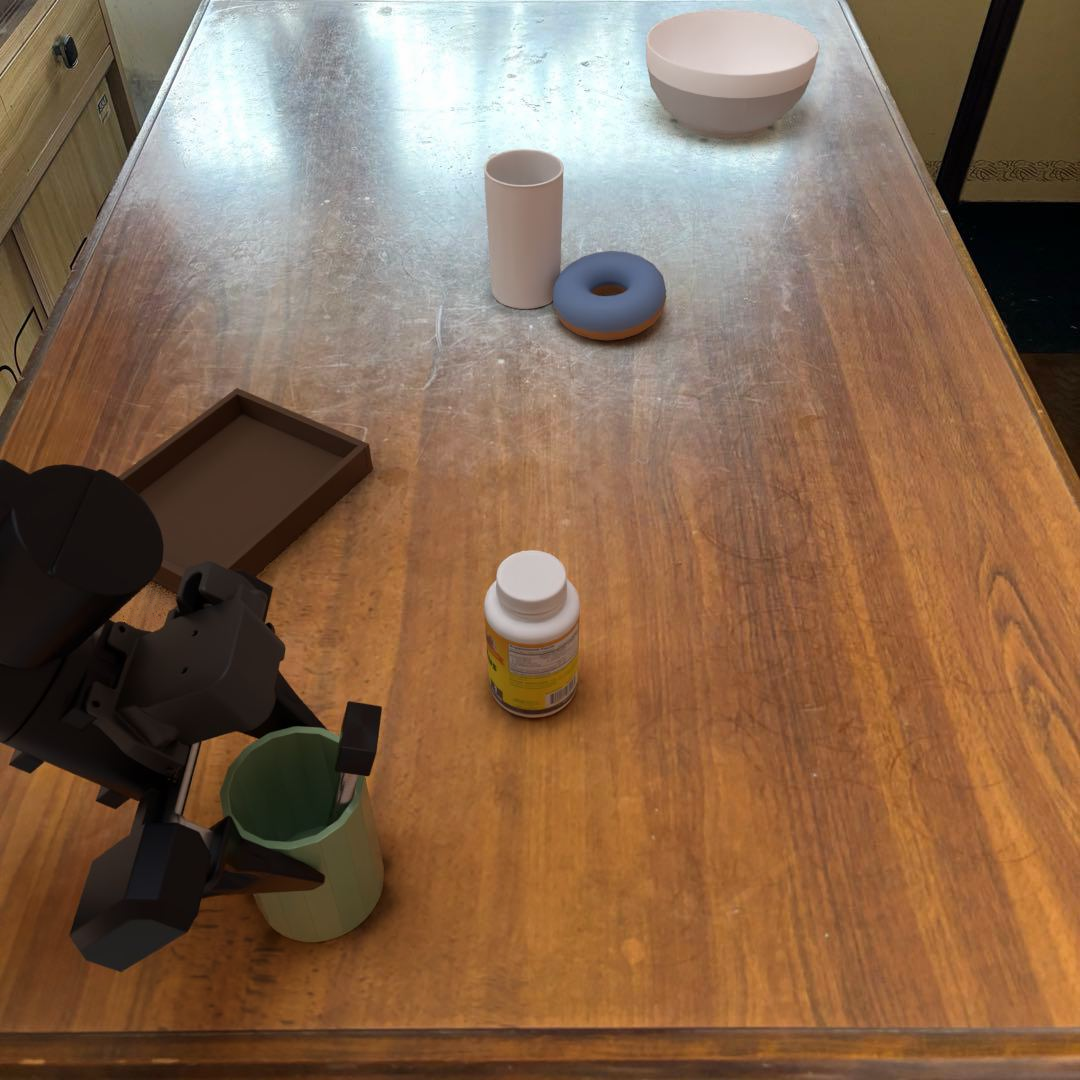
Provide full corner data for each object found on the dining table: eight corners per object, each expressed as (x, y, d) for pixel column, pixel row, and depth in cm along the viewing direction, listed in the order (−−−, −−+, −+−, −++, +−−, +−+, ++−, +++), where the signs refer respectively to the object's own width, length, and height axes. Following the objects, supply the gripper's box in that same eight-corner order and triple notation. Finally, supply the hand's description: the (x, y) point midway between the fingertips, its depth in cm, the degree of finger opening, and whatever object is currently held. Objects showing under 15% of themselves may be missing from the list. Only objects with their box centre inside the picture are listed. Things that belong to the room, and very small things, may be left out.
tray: (213, 614, 73) (205, 588, 72) (76, 540, 78) (65, 515, 76) (373, 468, 84) (369, 443, 82) (243, 412, 89) (236, 387, 87)
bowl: (724, 172, 118) (734, 90, 111) (607, 113, 128) (610, 36, 122) (840, 123, 126) (855, 44, 120) (722, 71, 136) (730, -3, 130)
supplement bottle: (496, 647, 71) (490, 534, 64) (582, 656, 71) (586, 543, 63) (481, 717, 67) (474, 606, 60) (572, 727, 67) (575, 615, 59)
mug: (576, 298, 100) (579, 173, 92) (511, 319, 98) (508, 193, 89) (521, 249, 106) (519, 128, 98) (460, 267, 104) (452, 145, 96)
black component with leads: (312, 899, 58) (284, 746, 48) (318, 854, 60) (294, 698, 50) (387, 901, 58) (375, 749, 49) (392, 856, 60) (381, 701, 50)
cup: (266, 959, 57) (229, 866, 50) (249, 845, 61) (213, 746, 54) (396, 920, 58) (377, 824, 51) (369, 812, 63) (349, 712, 56)
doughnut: (562, 354, 94) (562, 308, 91) (544, 291, 101) (544, 247, 98) (676, 344, 95) (680, 298, 92) (650, 282, 102) (654, 238, 99)
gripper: (61, 797, 36) (421, 946, 44) (187, 437, 50) (447, 600, 57) (-82, 911, 42) (261, 1025, 50) (66, 560, 55) (318, 693, 63)
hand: (329, 817), depth 55 cm, fingers closed on cup, 7 cm apart
